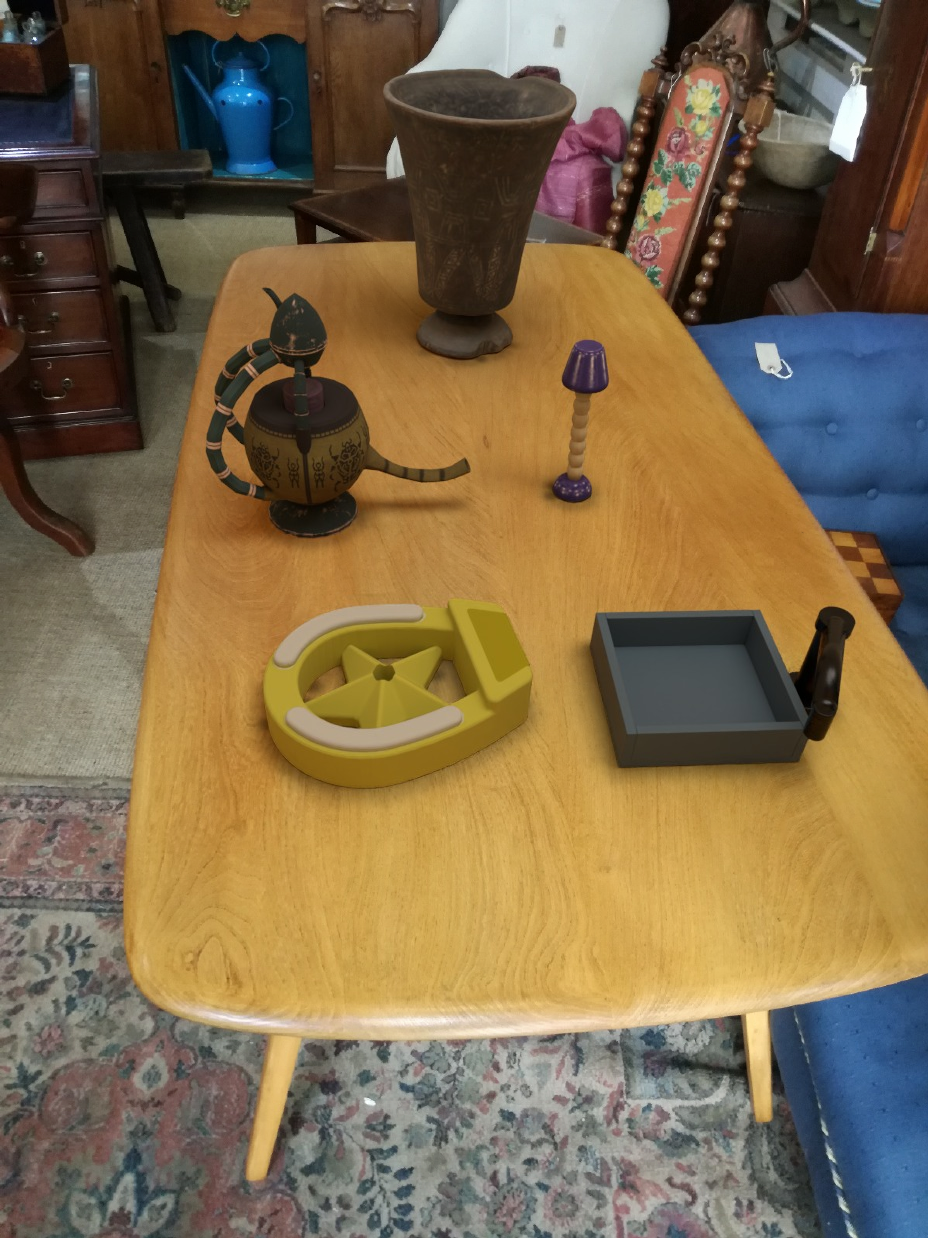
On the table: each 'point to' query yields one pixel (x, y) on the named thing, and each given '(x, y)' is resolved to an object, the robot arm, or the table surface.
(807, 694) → the tap column
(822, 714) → the spout
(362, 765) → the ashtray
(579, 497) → the toy lamp
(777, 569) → the table surface
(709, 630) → the sink
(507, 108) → the vase
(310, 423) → the teapot
